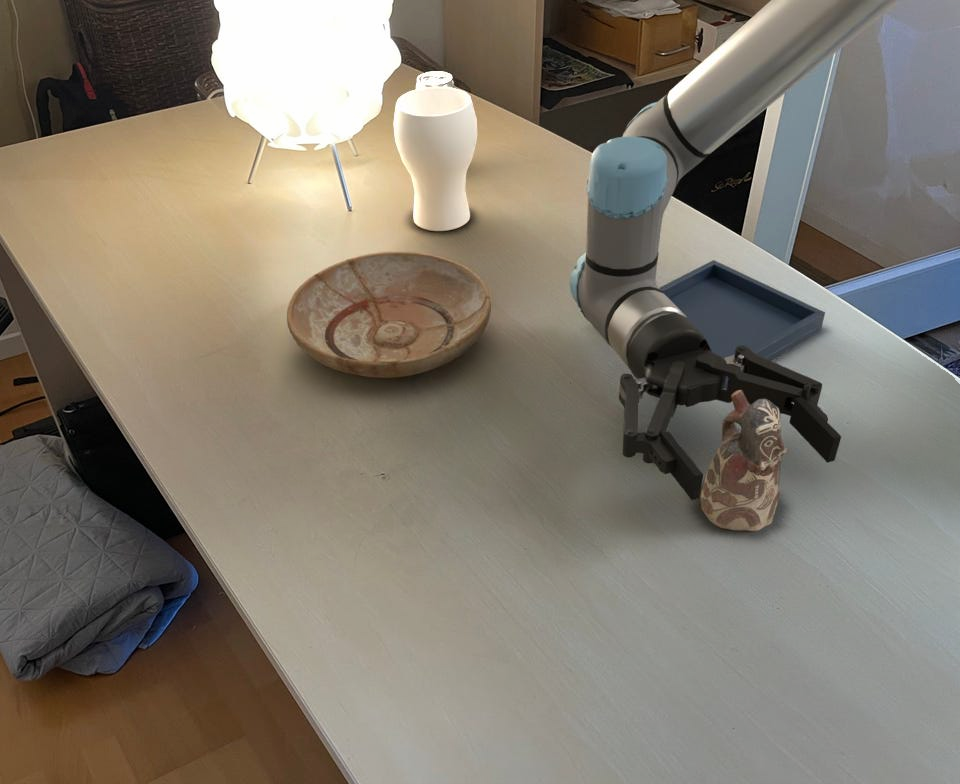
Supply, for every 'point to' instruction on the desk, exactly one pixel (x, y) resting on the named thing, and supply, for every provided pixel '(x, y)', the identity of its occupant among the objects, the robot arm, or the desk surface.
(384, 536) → the desk surface
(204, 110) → the desk surface
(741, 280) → the tray
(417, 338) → the ceramic bowl
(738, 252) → the desk surface
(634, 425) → the robot arm
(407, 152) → the cup
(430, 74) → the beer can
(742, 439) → the figurine
